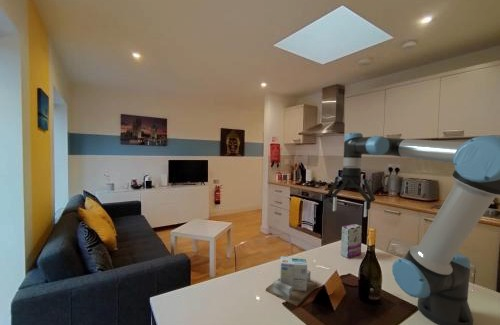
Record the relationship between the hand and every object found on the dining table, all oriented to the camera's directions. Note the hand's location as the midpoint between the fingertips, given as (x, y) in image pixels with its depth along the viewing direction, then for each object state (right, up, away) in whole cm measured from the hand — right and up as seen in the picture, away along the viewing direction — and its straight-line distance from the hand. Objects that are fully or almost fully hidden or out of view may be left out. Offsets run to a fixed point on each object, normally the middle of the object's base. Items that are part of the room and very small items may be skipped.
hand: (349, 213), depth 108 cm
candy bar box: (+10, -28, +23) cm, 38 cm away
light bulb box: (-28, -27, -11) cm, 41 cm away
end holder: (-28, -28, -11) cm, 41 cm away
